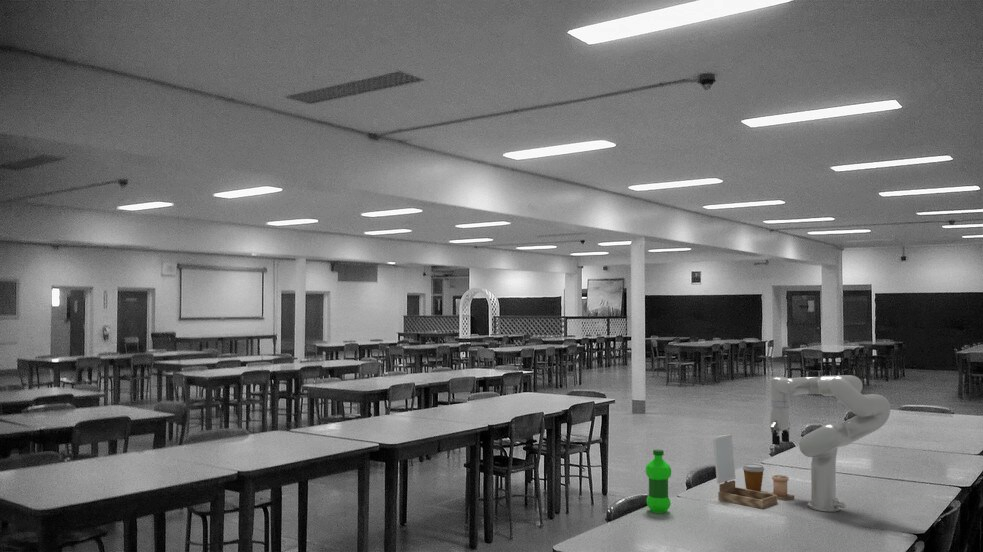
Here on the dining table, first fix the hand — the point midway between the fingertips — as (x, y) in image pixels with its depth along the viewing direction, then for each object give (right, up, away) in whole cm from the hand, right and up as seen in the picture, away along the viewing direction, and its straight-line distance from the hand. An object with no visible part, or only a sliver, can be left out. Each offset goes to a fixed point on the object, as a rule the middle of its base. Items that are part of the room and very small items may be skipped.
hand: (780, 443), depth 333 cm
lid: (-25, -6, -2) cm, 26 cm away
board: (-1, -24, -2) cm, 24 cm away
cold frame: (-19, -24, -9) cm, 32 cm away
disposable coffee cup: (-9, -25, +10) cm, 28 cm away
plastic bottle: (-60, -23, -26) cm, 69 cm away
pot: (-1, -23, -2) cm, 23 cm away
